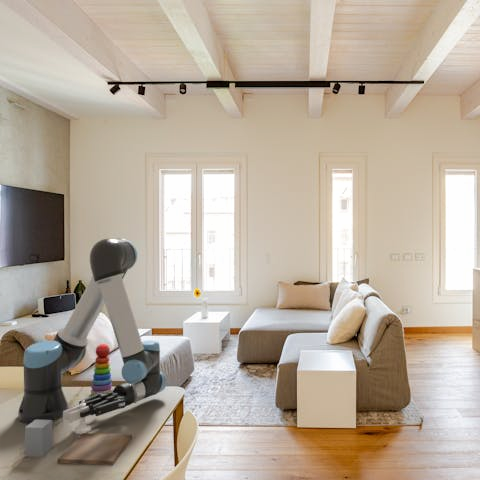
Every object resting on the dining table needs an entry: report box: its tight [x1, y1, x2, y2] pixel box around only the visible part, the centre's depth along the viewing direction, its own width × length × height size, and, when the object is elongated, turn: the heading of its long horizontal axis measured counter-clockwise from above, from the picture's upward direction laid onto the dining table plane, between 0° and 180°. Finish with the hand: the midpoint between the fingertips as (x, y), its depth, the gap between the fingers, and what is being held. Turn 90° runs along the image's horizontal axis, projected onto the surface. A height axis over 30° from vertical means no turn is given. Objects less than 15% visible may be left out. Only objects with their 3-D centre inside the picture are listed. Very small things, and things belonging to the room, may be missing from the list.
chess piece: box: [73, 397, 92, 435], centre depth 130 cm, size 5×5×10 cm
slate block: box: [24, 420, 54, 458], centre depth 117 cm, size 5×5×8 cm
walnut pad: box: [57, 432, 133, 466], centre depth 118 cm, size 15×15×1 cm
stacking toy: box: [90, 343, 114, 396], centre depth 162 cm, size 8×8×19 cm
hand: (66, 416), depth 126 cm, fingers closed on chess piece, 2 cm apart
